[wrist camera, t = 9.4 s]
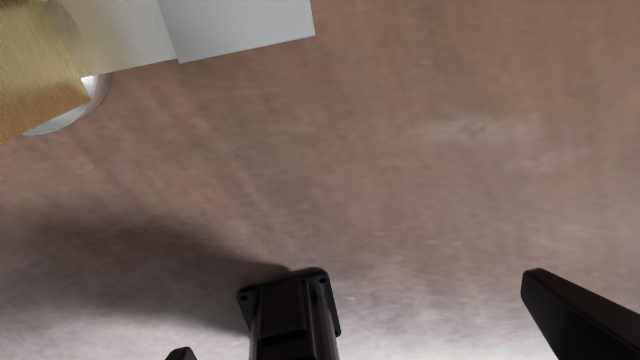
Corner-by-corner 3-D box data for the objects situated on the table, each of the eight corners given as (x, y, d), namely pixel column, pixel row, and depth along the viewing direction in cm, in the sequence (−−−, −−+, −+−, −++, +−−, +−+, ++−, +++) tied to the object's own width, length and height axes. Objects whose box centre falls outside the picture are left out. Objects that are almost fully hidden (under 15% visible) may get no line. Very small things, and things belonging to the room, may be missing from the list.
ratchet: (1, 135, 17) (-107, 184, 12) (-101, -21, 14) (-302, -40, 9) (316, 69, 18) (332, 91, 13) (287, -99, 14) (292, -155, 10)
